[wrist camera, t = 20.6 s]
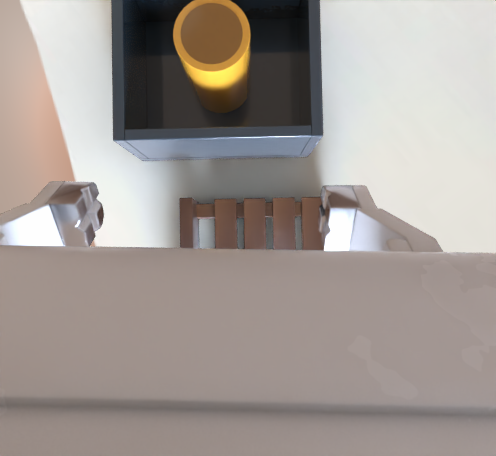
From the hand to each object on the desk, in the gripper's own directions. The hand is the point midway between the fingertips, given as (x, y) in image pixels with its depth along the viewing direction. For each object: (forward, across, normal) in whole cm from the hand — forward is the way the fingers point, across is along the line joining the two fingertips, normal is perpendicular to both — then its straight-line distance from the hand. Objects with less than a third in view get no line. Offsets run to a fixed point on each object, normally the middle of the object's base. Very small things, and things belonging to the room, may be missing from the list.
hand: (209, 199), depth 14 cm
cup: (+22, +1, +2) cm, 22 cm away
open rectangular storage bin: (+22, +1, +2) cm, 23 cm away
